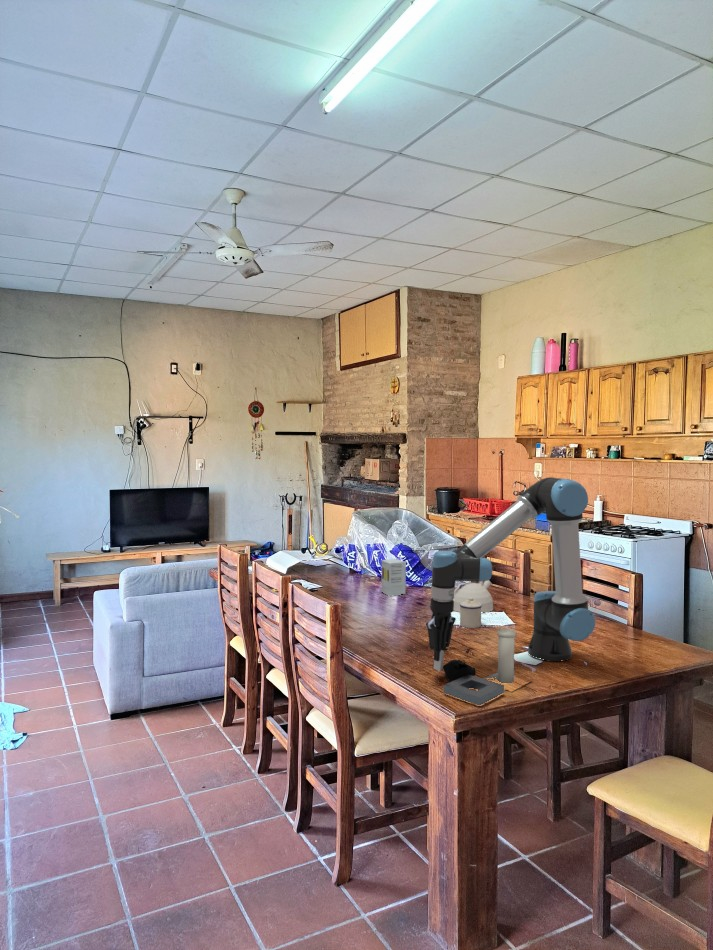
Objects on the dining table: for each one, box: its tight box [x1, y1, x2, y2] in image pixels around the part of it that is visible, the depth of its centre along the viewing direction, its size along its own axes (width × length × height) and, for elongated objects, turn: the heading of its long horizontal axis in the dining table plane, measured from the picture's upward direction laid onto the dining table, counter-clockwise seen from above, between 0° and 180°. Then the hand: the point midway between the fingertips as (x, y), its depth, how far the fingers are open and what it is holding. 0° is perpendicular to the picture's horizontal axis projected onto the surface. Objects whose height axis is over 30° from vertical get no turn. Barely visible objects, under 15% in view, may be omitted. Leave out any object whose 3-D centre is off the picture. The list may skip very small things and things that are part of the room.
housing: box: [443, 674, 505, 705], centre depth 196 cm, size 13×13×3 cm
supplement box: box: [380, 558, 407, 597], centre depth 324 cm, size 10×9×17 cm
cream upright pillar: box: [496, 628, 517, 683], centre depth 206 cm, size 6×6×16 cm
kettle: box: [453, 579, 494, 613], centre depth 297 cm, size 20×21×18 cm
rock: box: [442, 659, 477, 682], centre depth 209 cm, size 9×10×10 cm
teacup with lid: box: [459, 597, 482, 629], centre depth 271 cm, size 12×9×12 cm
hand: (438, 669), depth 211 cm, fingers closed
